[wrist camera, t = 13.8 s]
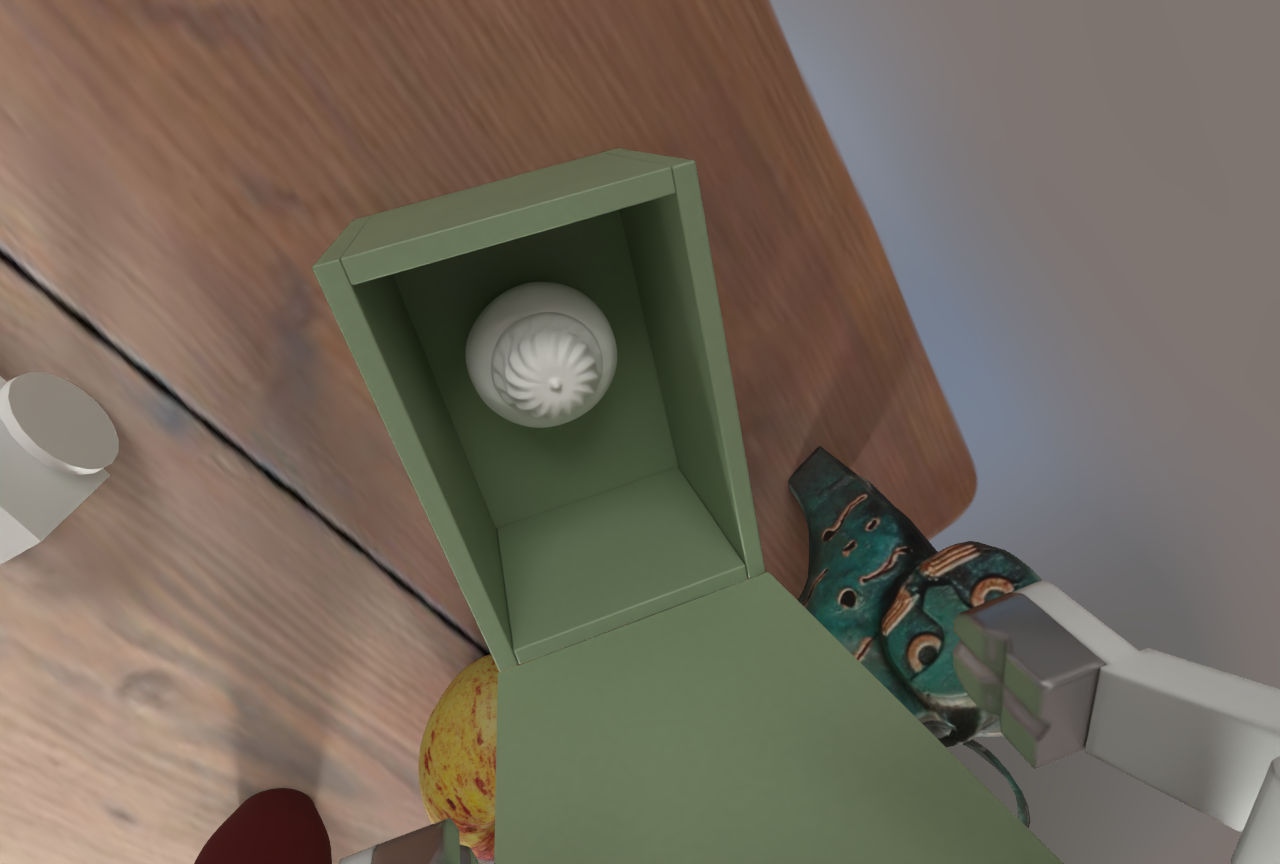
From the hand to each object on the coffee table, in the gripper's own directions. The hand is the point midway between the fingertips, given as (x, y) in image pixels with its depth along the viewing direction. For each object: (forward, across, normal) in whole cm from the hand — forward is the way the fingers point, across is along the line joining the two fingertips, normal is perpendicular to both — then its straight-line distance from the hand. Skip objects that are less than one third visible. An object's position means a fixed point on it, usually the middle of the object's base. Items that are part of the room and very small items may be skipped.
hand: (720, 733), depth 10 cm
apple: (+23, +8, +21) cm, 32 cm away
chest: (+24, 0, +3) cm, 24 cm away
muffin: (+23, 0, +1) cm, 23 cm away
